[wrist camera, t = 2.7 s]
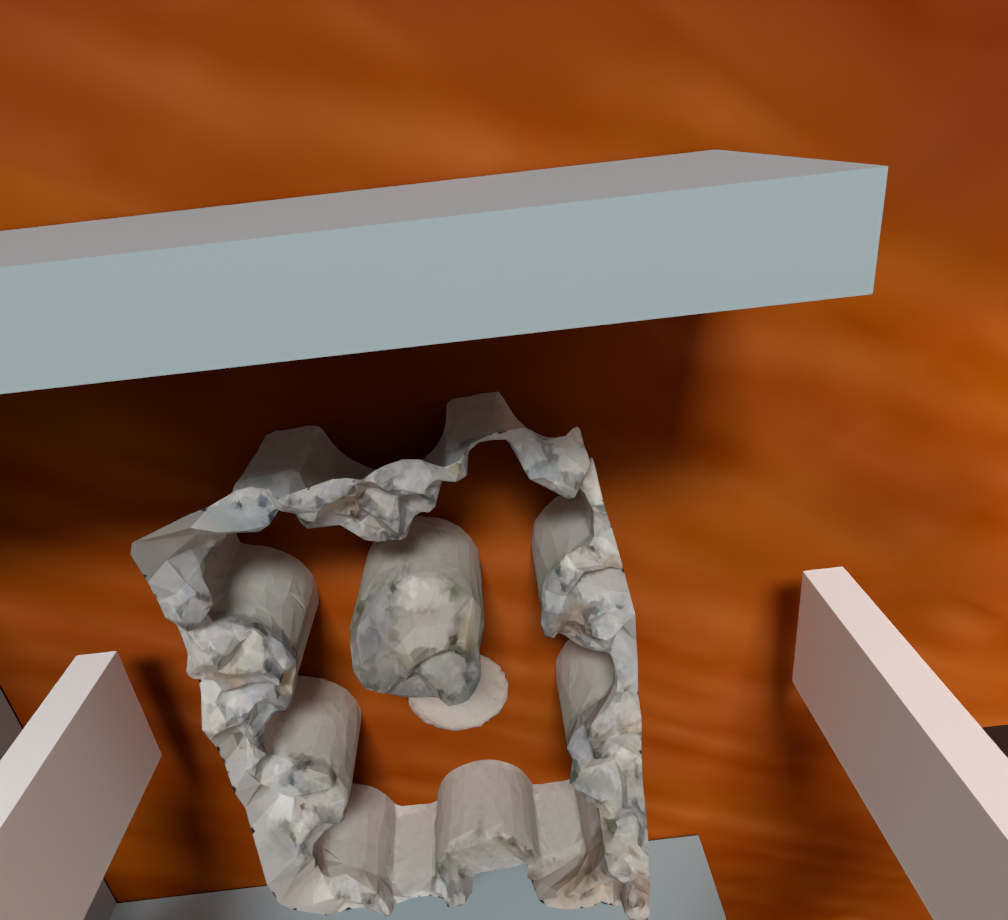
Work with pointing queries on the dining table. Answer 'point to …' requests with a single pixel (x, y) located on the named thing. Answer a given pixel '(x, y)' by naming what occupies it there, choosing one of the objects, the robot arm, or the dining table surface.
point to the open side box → (432, 335)
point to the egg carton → (411, 675)
